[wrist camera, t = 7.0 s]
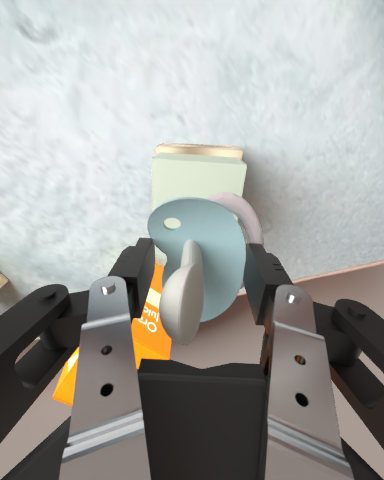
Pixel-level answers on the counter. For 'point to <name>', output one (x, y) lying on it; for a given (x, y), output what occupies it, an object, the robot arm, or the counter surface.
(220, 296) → the pacifier
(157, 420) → the robot arm
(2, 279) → the toy refrigerator
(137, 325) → the orange juice
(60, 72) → the counter surface
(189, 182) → the sage block
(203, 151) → the maple block
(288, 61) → the counter surface
